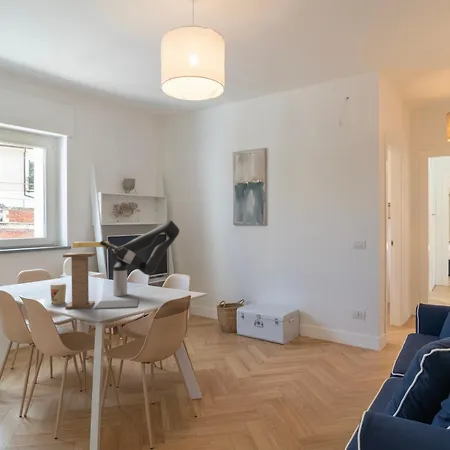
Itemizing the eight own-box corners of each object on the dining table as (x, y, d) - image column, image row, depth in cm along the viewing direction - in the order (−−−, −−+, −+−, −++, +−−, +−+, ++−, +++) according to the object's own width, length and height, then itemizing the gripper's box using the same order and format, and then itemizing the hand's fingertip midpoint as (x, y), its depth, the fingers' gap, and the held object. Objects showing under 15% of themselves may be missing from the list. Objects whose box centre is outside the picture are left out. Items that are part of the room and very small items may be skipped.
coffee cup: (47, 303, 246) (47, 284, 246) (60, 300, 254) (60, 282, 254) (56, 305, 241) (55, 285, 241) (69, 302, 249) (69, 283, 249)
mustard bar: (76, 246, 241) (76, 241, 241) (109, 246, 244) (109, 241, 244) (72, 247, 231) (72, 242, 231) (107, 247, 234) (107, 242, 234)
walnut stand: (69, 304, 243) (68, 252, 242) (96, 303, 245) (95, 252, 245) (63, 309, 229) (63, 254, 229) (92, 308, 231) (91, 254, 231)
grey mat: (100, 302, 249) (100, 300, 249) (138, 300, 252) (138, 299, 252) (94, 309, 229) (94, 307, 229) (136, 307, 232) (136, 306, 232)
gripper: (130, 249, 248) (106, 236, 246) (128, 251, 234) (102, 237, 232) (124, 259, 248) (99, 246, 245) (122, 262, 234) (96, 248, 231)
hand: (101, 242), depth 239 cm, fingers closed on mustard bar, 4 cm apart
